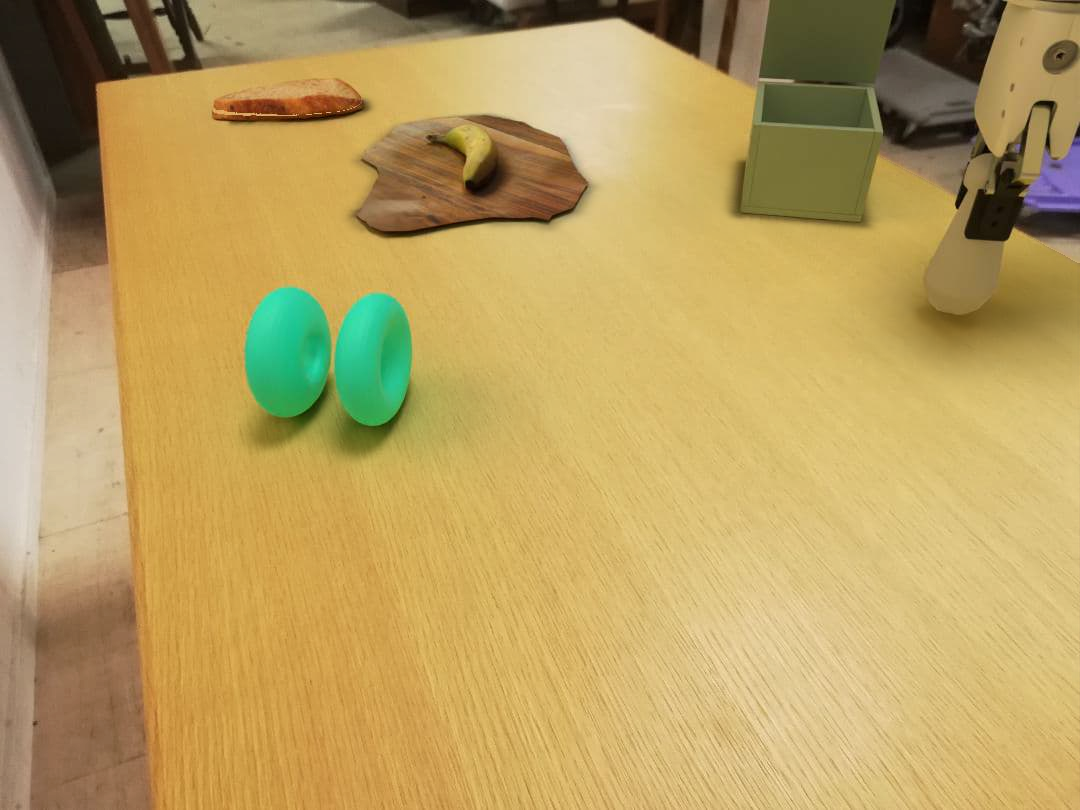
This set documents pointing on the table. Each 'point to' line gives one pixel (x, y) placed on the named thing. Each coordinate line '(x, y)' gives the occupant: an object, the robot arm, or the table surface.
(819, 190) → the storage bin
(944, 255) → the salt shaker
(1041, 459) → the table surface
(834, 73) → the box lid
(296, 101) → the bread slice
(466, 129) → the cutting board
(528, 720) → the table surface
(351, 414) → the donuts
